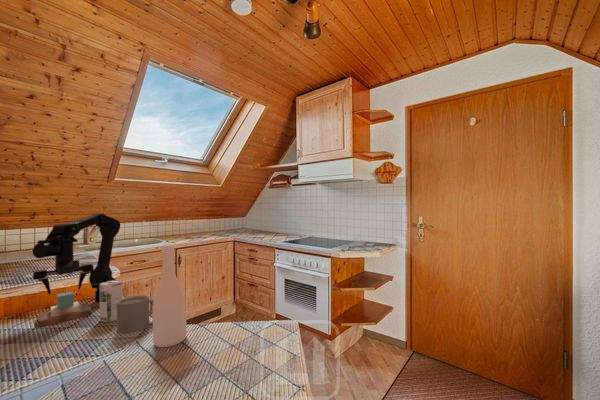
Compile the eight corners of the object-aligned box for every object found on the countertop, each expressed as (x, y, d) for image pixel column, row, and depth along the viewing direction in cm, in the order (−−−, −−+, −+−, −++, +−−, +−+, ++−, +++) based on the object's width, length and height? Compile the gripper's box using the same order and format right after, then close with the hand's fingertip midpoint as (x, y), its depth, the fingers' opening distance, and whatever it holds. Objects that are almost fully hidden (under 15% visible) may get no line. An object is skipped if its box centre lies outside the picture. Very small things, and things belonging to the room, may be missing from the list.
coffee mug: (123, 336, 91) (123, 306, 91) (112, 329, 97) (112, 301, 97) (164, 322, 102) (163, 295, 102) (151, 316, 108) (151, 291, 108)
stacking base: (88, 307, 123) (88, 298, 123) (91, 314, 113) (91, 304, 113) (39, 317, 112) (39, 308, 112) (38, 326, 102) (38, 316, 102)
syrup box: (98, 321, 105) (98, 283, 106) (114, 315, 111) (113, 279, 111) (108, 323, 103) (107, 284, 104) (123, 317, 108) (123, 280, 109)
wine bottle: (168, 350, 80) (166, 248, 81) (146, 345, 83) (143, 247, 84) (193, 336, 88) (190, 244, 90) (171, 332, 92) (169, 243, 93)
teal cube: (72, 303, 116) (72, 291, 116) (73, 306, 113) (73, 293, 113) (57, 306, 113) (57, 294, 113) (57, 309, 109) (57, 296, 109)
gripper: (32, 259, 101) (32, 301, 101) (94, 252, 114) (95, 290, 113) (33, 256, 109) (33, 296, 109) (91, 250, 122) (92, 285, 121)
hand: (64, 291), depth 113 cm, fingers open, 9 cm apart
